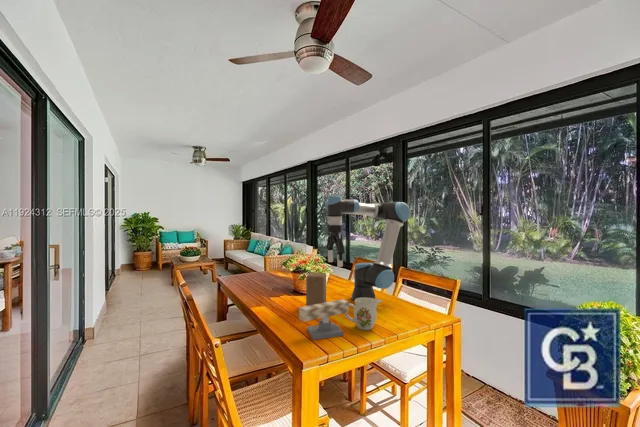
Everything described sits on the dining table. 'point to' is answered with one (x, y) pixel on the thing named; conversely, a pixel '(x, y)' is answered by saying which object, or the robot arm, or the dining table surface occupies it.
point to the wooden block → (315, 288)
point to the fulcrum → (324, 329)
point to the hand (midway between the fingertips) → (335, 264)
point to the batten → (323, 310)
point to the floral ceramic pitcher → (364, 312)
